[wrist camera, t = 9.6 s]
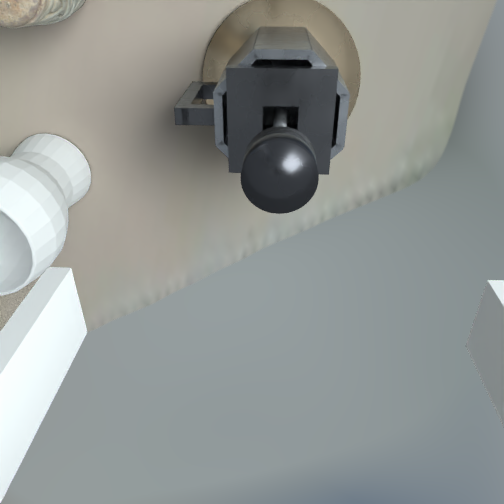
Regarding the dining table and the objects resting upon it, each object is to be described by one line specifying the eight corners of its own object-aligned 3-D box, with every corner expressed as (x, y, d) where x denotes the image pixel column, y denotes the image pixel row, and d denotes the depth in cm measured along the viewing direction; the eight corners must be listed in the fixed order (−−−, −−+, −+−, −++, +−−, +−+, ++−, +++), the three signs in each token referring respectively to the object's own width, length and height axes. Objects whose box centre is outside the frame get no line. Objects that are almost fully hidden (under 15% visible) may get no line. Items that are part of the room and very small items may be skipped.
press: (192, -7, 39) (160, 8, 29) (369, -7, 38) (401, 9, 28) (202, 154, 47) (179, 212, 36) (350, 157, 46) (370, 217, 35)
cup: (40, 95, 44) (-57, 152, 32) (126, 175, 48) (70, 254, 36) (-19, 164, 48) (-125, 239, 36) (65, 232, 52) (-4, 322, 40)
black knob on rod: (243, 48, 39) (215, 116, 23) (321, 48, 38) (348, 118, 22) (243, 124, 42) (219, 231, 26) (315, 126, 42) (335, 234, 26)
